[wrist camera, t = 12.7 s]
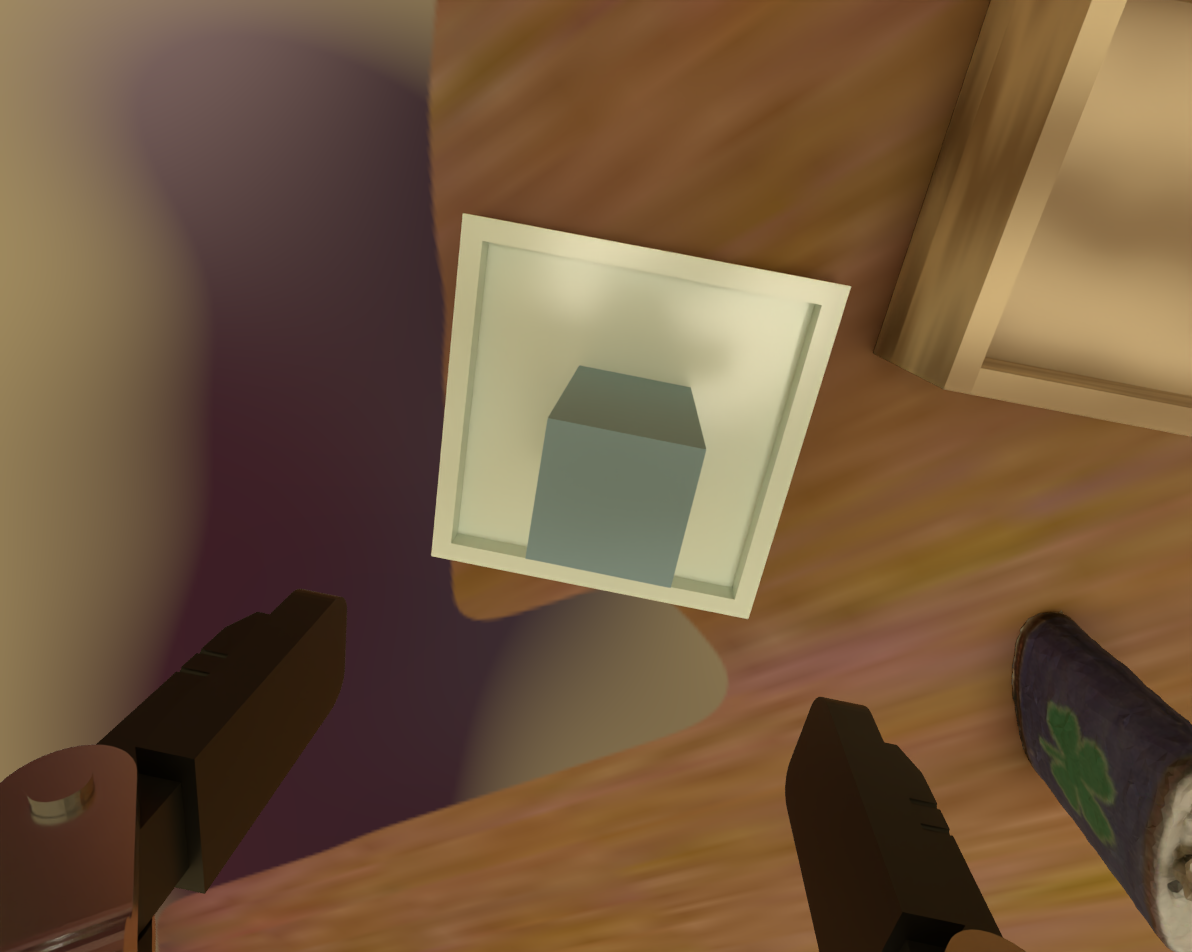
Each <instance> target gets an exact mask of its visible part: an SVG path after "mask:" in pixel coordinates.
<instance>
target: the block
mask: <svg viewBox="0 0 1192 952" xmlns="http://www.w3.org/2000/svg"><path fill="white" fill-rule="evenodd" d="M705 453H706V446H705V442H704V438H703V434H702V430H701V426H700V422H699V418H698V414H697V410H696V406H695V402H694V398H693V394H692V390H691V387H686V386H681V385H676V384H671V383H666V382H661V381H656V380H651V379H646V378H641V377H636V376H631V375H626V374H621V373H616V372H611V371H606V370H601V369H596V368H591V367H585V366H580V365H579V367H578V368H577V370H576V372H575V373H574V375H573V377H572V378H571V380H570V382H569V383H568V385H567V387H566V388H565V390H564V392H563V393H562V395H561V397H560V398H559V400H558V402H557V403H556V405H555V407H554V408H553V410H552V412H551V413H550V415H549V417H548V419H547V425H546V431H545V438H544V444H543V450H542V457H541V463H540V469H539V475H538V482H537V488H536V494H535V501H534V507H533V513H532V519H531V526H530V532H529V538H528V544H527V551H526V557H525V559H530V560H535V561H540V562H545V563H550V564H555V565H560V566H564V567H569V568H574V569H579V570H584V571H589V572H594V573H599V574H604V575H609V576H614V577H618V578H623V579H628V580H633V581H638V582H643V583H648V584H653V585H658V586H663V587H668V588H671V585H672V581H673V577H674V573H675V569H676V566H677V562H678V558H679V554H680V550H681V546H682V542H683V538H684V535H685V531H686V527H687V523H688V519H689V515H690V511H691V507H692V504H693V500H694V496H695V492H696V488H697V484H698V480H699V477H700V473H701V469H702V465H703V461H704V457H705Z"/></svg>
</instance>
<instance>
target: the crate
mask: <svg viewBox="0 0 1192 952" xmlns="http://www.w3.org/2000/svg"><path fill="white" fill-rule="evenodd" d="M873 353H874V354H876V355H878V356H879V357H881V358H883V359H885V360H887V361H889V362H891V363H893V364H895V365H897V366H899V367H901V368H903V369H905V370H907V371H909V372H911V373H913V374H915V375H917V376H919V377H920V378H922V379H924V380H926V381H928V382H930V383H932V384H934V385H936V386H938V387H940V388H942V389H945V390H950V391H955V392H960V393H965V394H971V395H976V396H981V397H986V398H992V399H997V400H1002V401H1007V402H1013V403H1018V404H1023V405H1028V406H1033V407H1039V408H1044V409H1049V410H1054V411H1060V412H1065V413H1070V414H1075V415H1081V416H1086V417H1091V418H1096V419H1101V420H1107V421H1112V422H1117V423H1122V424H1128V425H1133V426H1138V427H1143V428H1149V429H1154V430H1159V431H1164V432H1169V433H1175V434H1180V435H1185V436H1190V437H1192V0H991V1H990V4H989V7H988V10H987V13H986V16H985V19H984V22H983V25H982V28H981V31H980V34H979V37H978V40H977V43H976V46H975V49H974V52H973V55H972V58H971V61H970V64H969V67H968V70H967V73H966V76H965V79H964V82H963V85H962V88H961V91H960V94H959V97H958V100H957V103H956V106H955V109H954V112H953V115H952V118H951V121H950V124H949V127H948V130H947V133H946V136H945V139H944V142H943V145H942V148H941V151H940V154H939V157H938V160H937V163H936V166H935V169H934V172H933V175H932V178H931V181H930V184H929V187H928V190H927V193H926V196H925V199H924V202H923V205H922V208H921V211H920V214H919V217H918V220H917V223H916V226H915V229H914V232H913V235H912V238H911V241H910V244H909V247H908V250H907V253H906V256H905V259H904V262H903V265H902V268H901V271H900V274H899V277H898V280H897V283H896V286H895V289H894V292H893V295H892V298H891V301H890V304H889V307H888V310H887V313H886V316H885V319H884V322H883V325H882V328H881V331H880V334H879V337H878V340H877V343H876V346H875V349H874V352H873Z"/></svg>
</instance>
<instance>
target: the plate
mask: <svg viewBox="0 0 1192 952" xmlns="http://www.w3.org/2000/svg"><path fill="white" fill-rule="evenodd" d="M850 289H851V286H847V285H843V284H838V283H834V282H828V281H823V280H818V279H813V278H807V277H802V276H797V275H791V274H786V273H781V272H775V271H770V270H765V269H760V268H754V267H749V266H744V265H738V264H733V263H728V262H722V261H717V260H712V259H707V258H701V257H696V256H691V255H685V254H680V253H675V252H670V251H664V250H659V249H654V248H648V247H643V246H638V245H632V244H627V243H622V242H617V241H611V240H606V239H601V238H595V237H590V236H585V235H579V234H574V233H569V232H564V231H558V230H553V229H548V228H542V227H537V226H532V225H526V224H521V223H516V222H511V221H505V220H500V219H495V218H489V217H484V216H479V215H472V214H465V213H463V217H462V228H461V239H460V250H459V261H458V272H457V282H456V293H455V304H454V315H453V326H452V337H451V348H450V359H449V369H448V380H447V391H446V402H445V413H444V424H443V435H442V446H441V456H440V467H439V468H440V469H439V478H438V490H437V500H436V511H435V522H434V533H433V544H432V554H431V556H434V557H439V558H445V559H449V560H454V561H459V562H464V563H469V564H474V565H479V566H484V567H489V568H494V569H499V570H504V571H509V572H514V573H519V574H524V575H529V576H534V577H539V578H544V579H549V580H554V581H560V582H565V583H570V584H575V585H580V586H585V587H590V588H595V589H600V590H605V591H610V592H615V593H620V594H625V595H630V596H635V597H640V598H645V599H650V600H655V601H660V602H665V603H670V604H675V605H680V606H685V607H690V608H695V609H700V610H705V611H710V612H715V613H720V614H725V615H730V616H735V617H740V618H745V619H748V618H749V615H750V612H751V609H752V605H753V602H754V599H755V596H756V593H757V589H758V586H759V583H760V580H761V576H762V573H763V570H764V567H765V563H766V560H767V557H768V554H769V550H770V547H771V544H772V541H773V538H774V534H775V531H776V528H777V525H778V521H779V518H780V515H781V512H782V508H783V505H784V502H785V499H786V496H787V492H788V489H789V486H790V483H791V479H792V476H793V473H794V470H795V466H796V463H797V460H798V457H799V453H800V450H801V447H802V444H803V441H804V437H805V434H806V431H807V428H808V424H809V421H810V418H811V415H812V411H813V408H814V405H815V402H816V398H817V395H818V392H819V389H820V386H821V382H822V379H823V376H824V373H825V369H826V366H827V363H828V360H829V356H830V353H831V350H832V347H833V343H834V340H835V337H836V334H837V331H838V327H839V324H840V321H841V318H842V314H843V311H844V308H845V305H846V301H847V298H848V295H849V292H850ZM579 365H580V366H585V367H591V368H596V369H601V370H606V371H611V372H616V373H621V374H626V375H631V376H636V377H641V378H646V379H651V380H656V381H661V382H666V383H671V384H676V385H681V386H686V387H691V390H692V394H693V398H694V402H695V406H696V410H697V414H698V418H699V422H700V426H701V430H702V434H703V438H704V442H705V446H706V453H705V457H704V461H703V465H702V469H701V473H700V477H699V480H698V484H697V488H696V492H695V496H694V500H693V504H692V507H691V511H690V515H689V519H688V523H687V527H686V531H685V535H684V538H683V542H682V546H681V550H680V554H679V558H678V562H677V566H676V569H675V573H674V577H673V581H672V585H671V588H668V587H663V586H658V585H653V584H648V583H643V582H638V581H633V580H628V579H623V578H618V577H614V576H609V575H604V574H599V573H594V572H589V571H584V570H579V569H574V568H569V567H564V566H560V565H555V564H550V563H545V562H540V561H535V560H530V559H525V557H526V551H527V544H528V538H529V532H530V526H531V519H532V513H533V507H534V501H535V494H536V488H537V482H538V475H539V469H540V463H541V457H542V450H543V444H544V438H545V431H546V425H547V419H548V417H549V415H550V413H551V412H552V410H553V408H554V407H555V405H556V403H557V402H558V400H559V398H560V397H561V395H562V393H563V392H564V390H565V388H566V387H567V385H568V383H569V382H570V380H571V378H572V377H573V375H574V373H575V372H576V370H577V368H578V367H579Z"/></svg>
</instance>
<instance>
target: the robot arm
mask: <svg viewBox="0 0 1192 952" xmlns="http://www.w3.org/2000/svg"><path fill="white" fill-rule="evenodd" d="M346 621H347V605H346V601H345V599H344V598H343V597H338V596H333V595H328V594H323V593H319V592H314V591H309V590H304V589H297V590H295V591H294V592H293V593H291V594H290V595H289V596H288V597H287V598H286V599H285V600H284V601H283V602H282V603H281V604H280V605H279V606H278V607H277V608H276V609H275V610H274V611H273V612H272V613H271V614H265V613H260V612H256V613H254V614H252V615H250V616H248V617H246V618H244V619H242V620H240V621H237V622H235V623H233V624H231V625H229V626H227V627H225V628H224V629H223V630H222V631H221V632H220V633H218V634H217V635H216V636H215V637H214V638H213V639H212V640H211V641H210V642H208V643H207V644H206V645H205V646H204V647H203V648H202V650H201V652H200V654H198V653H197V654H195V655H194V656H193V657H192V658H191V659H190V660H189V661H188V662H186V663H185V664H184V665H183V666H182V667H181V671H180V672H175V673H174V674H173V675H172V676H171V677H170V678H169V679H168V680H167V681H166V682H164V683H163V684H162V685H161V686H160V687H159V688H158V689H157V690H156V691H155V692H153V693H152V694H151V695H150V696H149V697H148V698H147V699H146V700H145V701H144V702H142V704H140V705H139V706H138V707H137V708H136V709H135V710H134V711H133V712H131V713H130V714H129V715H128V716H127V717H126V718H125V719H124V720H123V721H121V722H120V723H119V724H118V725H117V726H116V727H115V728H114V729H113V730H112V731H110V732H109V733H108V734H107V735H106V736H105V737H104V738H103V739H102V740H100V741H99V742H98V743H97V744H96V745H81V746H76V747H70V748H66V749H62V750H59V751H55V752H53V753H50V754H47V755H44V756H42V757H40V758H38V759H36V760H33V761H31V762H29V763H28V764H26V765H24V766H22V767H21V768H19V769H17V770H16V771H15V772H13V773H12V774H10V775H9V776H8V777H6V778H5V779H4V780H3V781H2V782H1V783H0V952H155V940H156V923H155V915H154V914H155V913H156V912H157V910H158V909H159V907H160V906H161V905H162V904H163V902H164V901H165V900H166V898H167V897H168V895H169V894H170V893H171V891H172V890H173V889H174V887H176V888H181V889H186V890H191V891H195V892H200V893H204V894H205V893H206V891H207V890H208V888H209V887H210V886H211V884H212V883H213V881H214V879H215V878H216V877H217V875H218V874H219V872H220V871H221V869H222V868H223V867H224V865H225V864H226V862H227V861H228V859H229V858H230V856H231V855H232V853H233V852H234V851H235V849H236V848H237V846H238V845H239V843H240V842H241V840H242V839H243V837H244V836H245V835H246V833H247V831H248V830H249V829H250V827H251V826H252V824H253V823H254V821H255V820H256V818H257V817H258V816H259V814H260V813H261V811H262V810H263V808H264V807H265V805H266V804H267V803H268V801H269V800H270V798H271V797H272V795H273V794H274V792H275V791H276V789H277V788H278V787H279V785H280V783H281V782H282V781H283V779H284V778H285V776H286V775H287V773H288V772H289V770H290V769H291V767H292V766H293V764H294V763H295V762H296V760H297V759H298V757H299V755H301V753H302V752H303V750H304V749H305V747H306V746H307V744H308V743H309V741H310V740H311V739H312V737H313V736H314V734H315V733H316V731H317V730H318V728H319V727H320V725H321V724H322V723H323V721H324V720H325V718H326V717H327V715H328V714H329V712H330V711H331V709H332V708H333V706H334V704H335V702H336V699H337V698H338V695H339V693H340V690H341V686H342V683H343V679H344V672H345V648H346ZM785 797H786V806H787V810H788V815H789V819H790V824H791V828H792V833H793V837H794V841H795V846H796V850H797V855H798V859H799V864H800V868H801V872H802V877H803V881H804V886H805V890H806V895H807V899H808V903H809V908H810V912H811V917H812V921H813V926H814V930H815V934H816V939H817V943H818V948H819V952H1026V951H1024V950H1023V949H1021V948H1020V947H1018V946H1017V945H1015V944H1014V943H1012V942H1010V941H1008V940H1006V939H1004V938H1003V937H1002V935H1001V933H1000V931H999V929H998V927H997V925H996V922H995V920H994V918H993V916H992V914H991V912H990V910H989V908H988V906H987V904H986V902H985V900H984V898H983V896H982V894H981V892H980V890H979V888H978V886H977V884H976V882H975V880H974V878H973V876H972V874H971V872H970V870H969V868H968V866H967V863H966V861H965V859H964V857H963V855H962V853H961V851H960V849H959V847H958V845H957V843H956V841H955V839H954V837H953V836H951V835H950V834H949V830H950V829H949V827H948V825H947V823H946V821H945V819H944V817H943V815H942V813H941V811H940V810H939V809H937V802H936V800H935V798H934V796H933V794H932V792H931V790H930V788H929V786H928V784H927V782H926V780H925V778H924V776H923V774H922V773H921V772H920V770H919V769H918V768H917V767H916V766H915V765H914V764H913V763H912V762H911V760H910V759H909V758H908V757H907V756H906V755H905V754H904V753H903V752H902V750H901V749H900V748H899V747H898V746H897V745H894V744H889V743H884V741H883V739H882V737H881V734H880V732H879V730H878V728H877V725H876V723H875V721H874V719H873V716H872V714H871V712H870V710H869V709H868V708H867V707H866V706H863V705H858V704H853V703H849V702H844V701H839V700H834V699H829V698H824V697H818V698H816V699H815V700H814V702H813V704H812V706H811V708H810V711H809V713H808V716H807V719H806V721H805V724H804V726H803V729H802V732H801V734H800V737H799V739H798V742H797V745H796V747H795V750H794V753H793V755H792V758H791V760H790V763H789V766H788V770H787V775H786V785H785Z"/></svg>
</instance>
